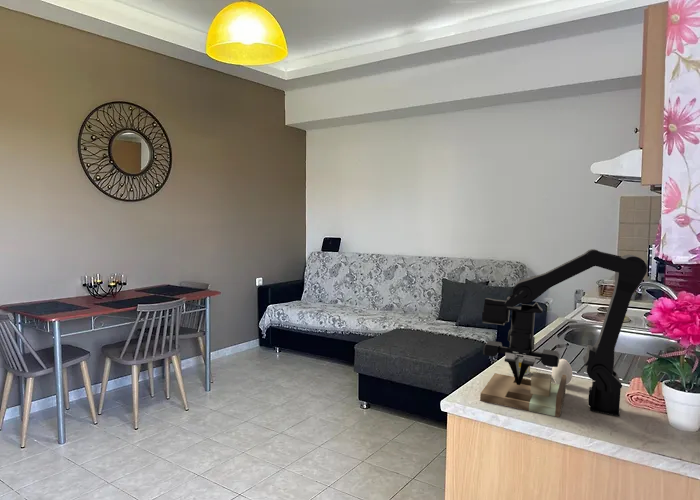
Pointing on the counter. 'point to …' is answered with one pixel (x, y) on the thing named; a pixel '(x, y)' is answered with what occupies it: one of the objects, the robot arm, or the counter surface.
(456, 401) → the counter surface
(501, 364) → the counter surface
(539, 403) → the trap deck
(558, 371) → the egg
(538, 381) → the birch block
